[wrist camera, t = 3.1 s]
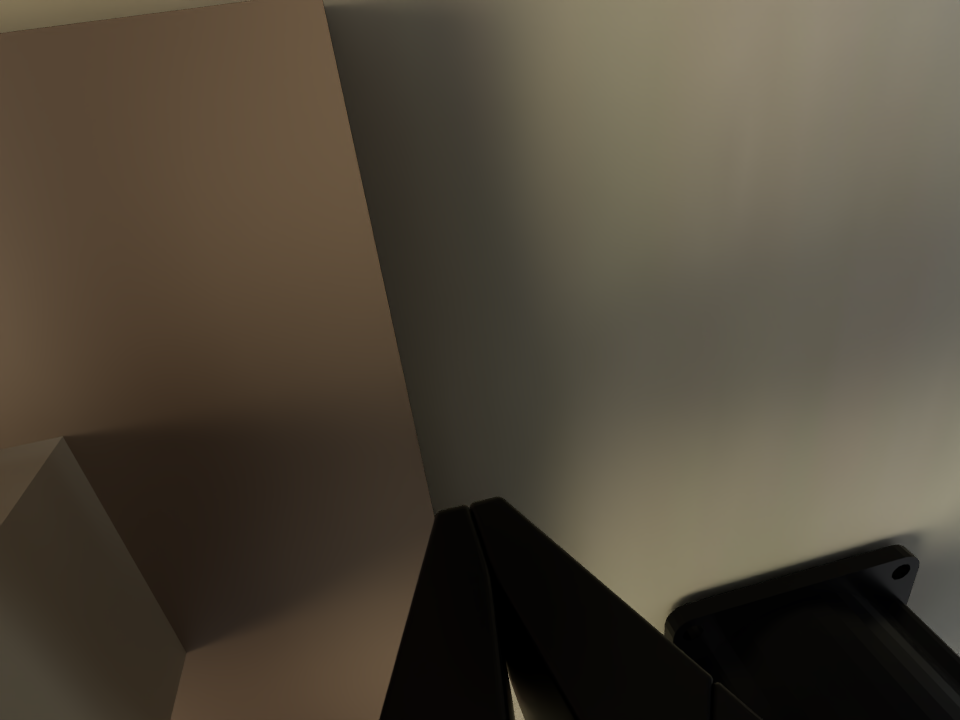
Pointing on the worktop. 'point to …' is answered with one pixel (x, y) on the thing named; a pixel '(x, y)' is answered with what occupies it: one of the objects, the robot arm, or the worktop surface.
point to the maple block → (74, 602)
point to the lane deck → (216, 342)
